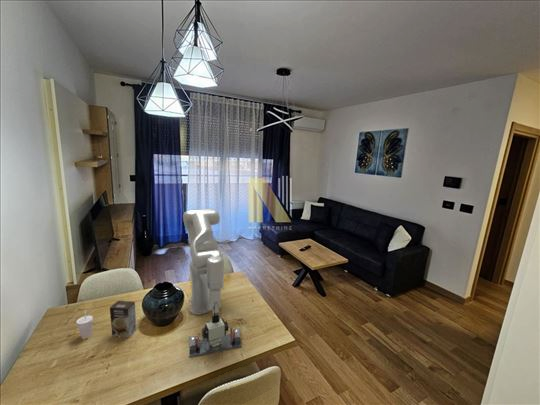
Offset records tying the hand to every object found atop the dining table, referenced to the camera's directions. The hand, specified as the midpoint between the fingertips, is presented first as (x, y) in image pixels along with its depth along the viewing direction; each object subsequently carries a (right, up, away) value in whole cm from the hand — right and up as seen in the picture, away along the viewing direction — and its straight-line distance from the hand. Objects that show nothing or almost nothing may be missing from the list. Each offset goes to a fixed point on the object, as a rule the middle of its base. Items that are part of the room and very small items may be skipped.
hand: (214, 315), depth 114 cm
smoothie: (-64, -13, +4) cm, 66 cm away
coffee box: (-48, -13, +8) cm, 50 cm away
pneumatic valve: (0, -15, +2) cm, 15 cm away
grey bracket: (0, -15, +2) cm, 16 cm away
